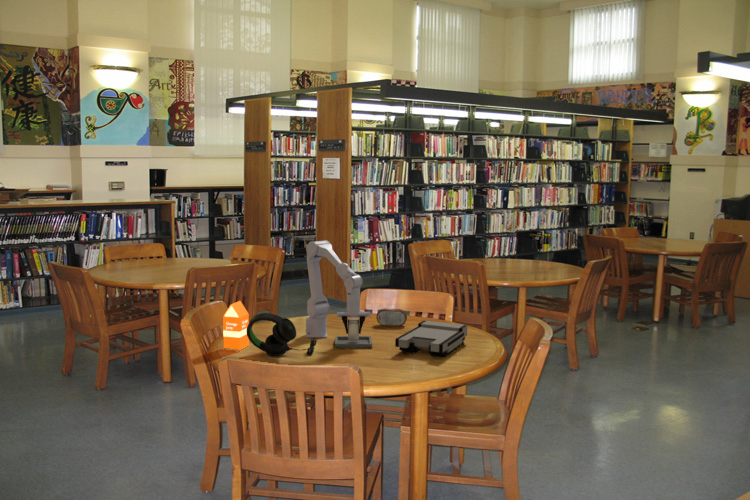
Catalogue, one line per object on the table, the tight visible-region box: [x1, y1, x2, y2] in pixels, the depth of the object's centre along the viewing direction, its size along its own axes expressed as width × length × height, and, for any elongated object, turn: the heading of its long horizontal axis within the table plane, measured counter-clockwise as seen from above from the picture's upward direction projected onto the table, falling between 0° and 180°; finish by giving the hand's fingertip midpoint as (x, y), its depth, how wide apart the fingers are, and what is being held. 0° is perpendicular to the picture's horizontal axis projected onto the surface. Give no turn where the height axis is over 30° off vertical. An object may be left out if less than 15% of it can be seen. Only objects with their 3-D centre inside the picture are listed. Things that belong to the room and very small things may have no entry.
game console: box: [394, 320, 468, 358], centre depth 286 cm, size 21×32×8 cm, turn 154°
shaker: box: [347, 318, 360, 341], centre depth 292 cm, size 5×5×9 cm
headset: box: [247, 312, 317, 357], centre depth 275 cm, size 18×14×29 cm
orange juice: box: [222, 300, 250, 350], centre depth 284 cm, size 8×9×20 cm
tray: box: [334, 335, 373, 349], centre depth 293 cm, size 16×14×2 cm
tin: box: [375, 308, 408, 327], centre depth 328 cm, size 15×3×8 cm, turn 84°
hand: (353, 333), depth 292 cm, fingers closed on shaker, 5 cm apart
